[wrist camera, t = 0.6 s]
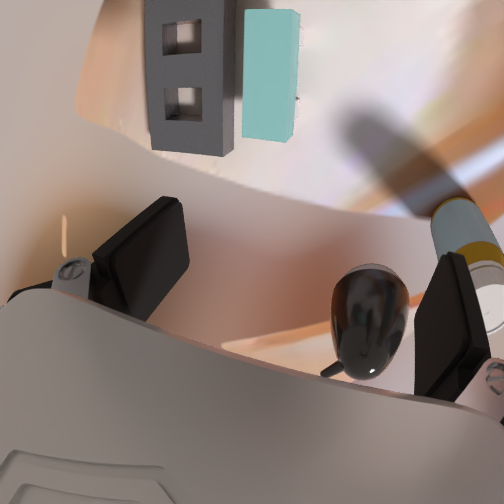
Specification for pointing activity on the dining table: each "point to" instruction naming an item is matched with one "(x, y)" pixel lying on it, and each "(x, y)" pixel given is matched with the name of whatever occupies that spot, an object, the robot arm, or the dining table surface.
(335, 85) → the dining table surface
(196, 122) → the grey block with holes
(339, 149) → the dining table surface
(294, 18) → the clip
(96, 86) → the dining table surface
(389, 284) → the dark gray egg shape
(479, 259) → the bottle
